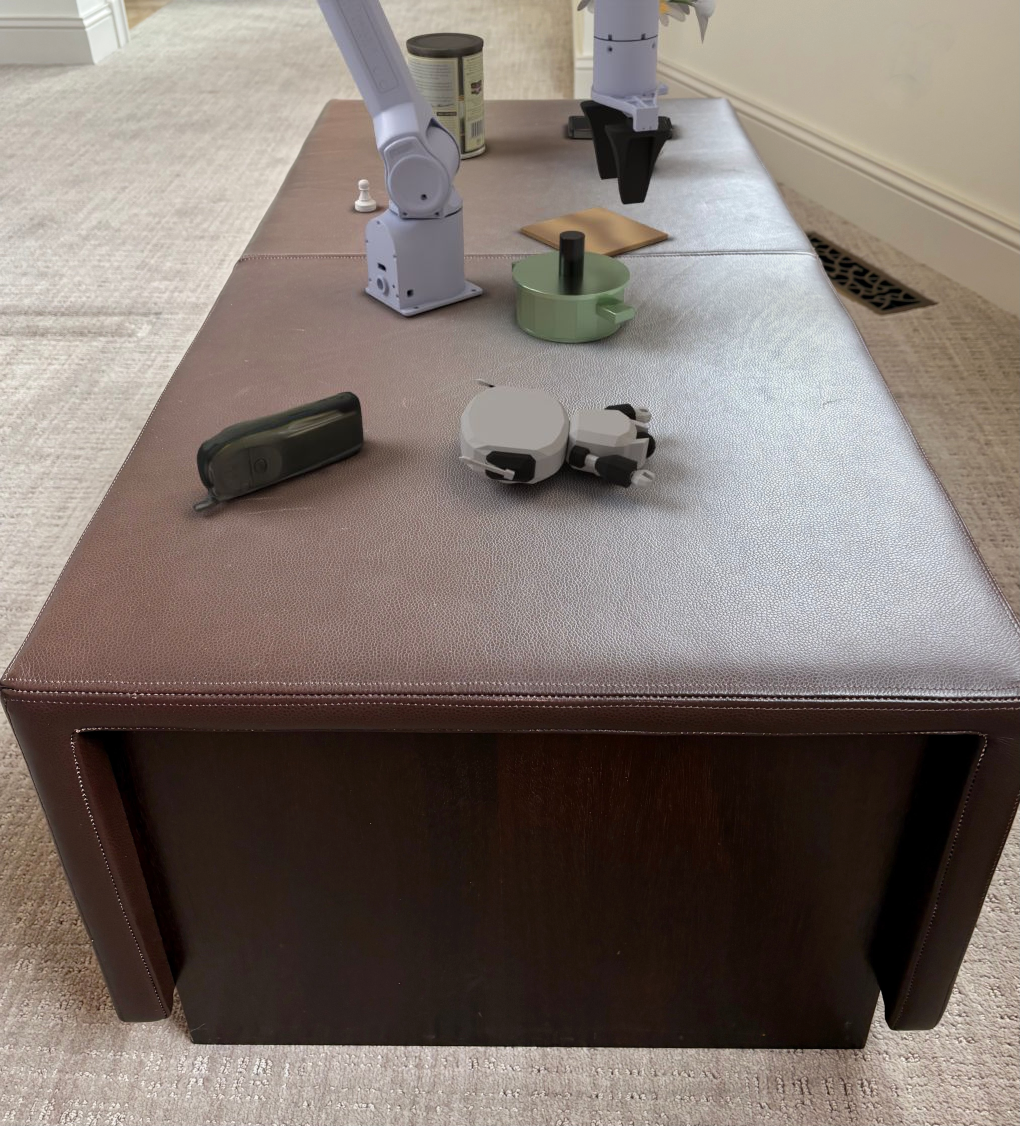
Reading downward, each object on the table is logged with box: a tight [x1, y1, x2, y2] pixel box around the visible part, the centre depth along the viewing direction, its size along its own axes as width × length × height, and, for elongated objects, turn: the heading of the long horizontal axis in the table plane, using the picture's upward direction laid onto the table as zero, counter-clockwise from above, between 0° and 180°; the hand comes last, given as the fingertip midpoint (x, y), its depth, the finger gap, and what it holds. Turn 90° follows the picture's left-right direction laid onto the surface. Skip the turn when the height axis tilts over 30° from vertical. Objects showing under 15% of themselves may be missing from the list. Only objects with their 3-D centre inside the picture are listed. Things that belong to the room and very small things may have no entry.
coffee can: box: [405, 32, 486, 160], centre depth 146 cm, size 10×10×14 cm
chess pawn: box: [354, 179, 377, 213], centre depth 129 cm, size 3×3×4 cm
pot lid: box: [511, 231, 631, 301], centre depth 101 cm, size 11×11×5 cm
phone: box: [567, 115, 674, 139], centre depth 156 cm, size 8×1×15 cm
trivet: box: [520, 205, 669, 257], centre depth 123 cm, size 12×12×1 cm
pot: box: [511, 259, 636, 344], centre depth 103 cm, size 10×16×4 cm, turn 37°
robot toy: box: [457, 378, 657, 490], centre depth 82 cm, size 12×4×15 cm
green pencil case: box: [192, 391, 365, 513], centre depth 80 cm, size 5×3×15 cm
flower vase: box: [576, 0, 717, 160], centre depth 135 cm, size 13×18×25 cm
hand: (621, 189), depth 102 cm, fingers open, 7 cm apart
